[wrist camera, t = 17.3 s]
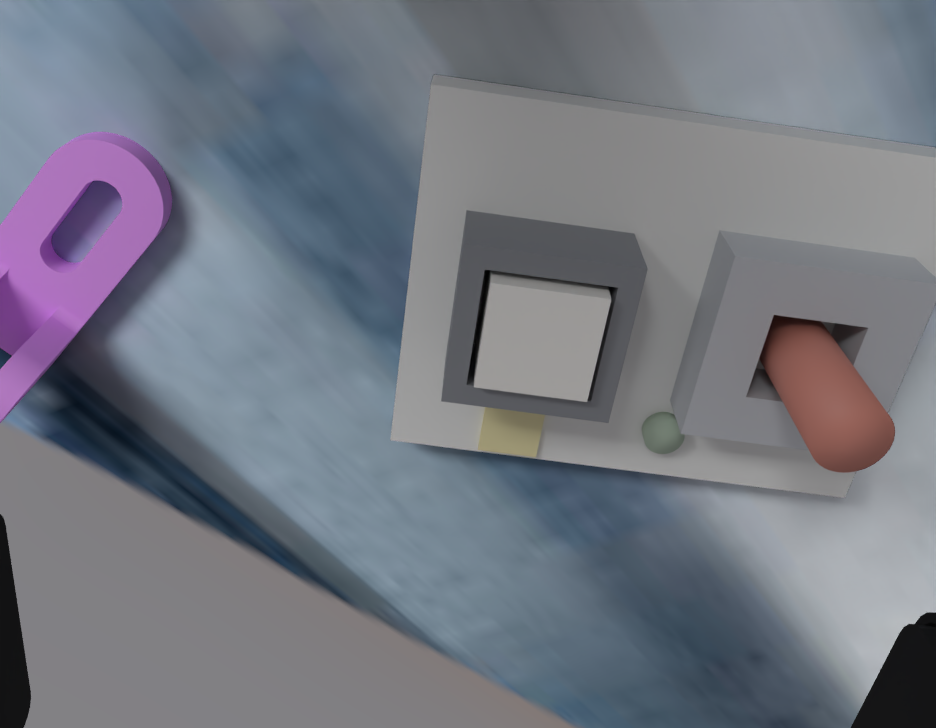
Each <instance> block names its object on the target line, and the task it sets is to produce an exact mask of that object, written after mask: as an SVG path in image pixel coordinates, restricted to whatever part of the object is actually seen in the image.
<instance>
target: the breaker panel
mask: <svg viewBox="0 0 936 728" xmlns="http://www.w3.org/2000/svg"><path fill="white" fill-rule="evenodd" d="M487 270H492V271H500V272H507V273H514V274H522V275H529V276H536V277H544V278H551V279H558V280H566V281H573V282H580V283H588V284H595V285H602V286H608V288H609V292H610V296H611V303H610V308H609V312H608V316H607V320H606V325H605V329H604V333H603V337H602V341H601V346H600V350H599V354H598V358H597V362H596V367H595V371H594V375H593V379H592V383H591V388H590V392H589V396H588V400H587V402H582V401H575V400H567V399H559V398H552V397H544V396H536V395H529V394H521V393H513V392H506V391H498V390H490V389H483V388H475V387H474V369H475V344H476V337H477V331H478V325H479V319H480V312H481V306H482V300H483V294H484V287H485V281H486V275H487ZM935 304H936V148H935V147H928V146H921V145H914V144H908V143H901V142H894V141H887V140H880V139H873V138H866V137H860V136H853V135H846V134H839V133H832V132H825V131H818V130H812V129H805V128H798V127H791V126H784V125H777V124H771V123H764V122H757V121H750V120H743V119H736V118H729V117H723V116H716V115H709V114H702V113H695V112H688V111H682V110H675V109H668V108H661V107H654V106H647V105H640V104H634V103H627V102H620V101H613V100H606V99H599V98H593V97H586V96H579V95H572V94H565V93H558V92H551V91H545V90H538V89H531V88H524V87H517V86H510V85H503V84H497V83H490V82H483V81H476V80H469V79H462V78H456V77H449V76H442V75H435V74H434V75H433V79H432V82H431V88H430V96H429V105H428V114H427V123H426V132H425V141H424V149H423V158H422V167H421V176H420V185H419V193H418V202H417V211H416V220H415V229H414V237H413V246H412V255H411V264H410V273H409V281H408V290H407V299H406V308H405V317H404V325H403V334H402V343H401V352H400V361H399V369H398V378H397V387H396V396H395V405H394V413H393V422H392V431H391V440H392V441H400V442H408V443H416V444H424V445H432V446H439V447H447V448H455V449H463V450H471V451H479V452H486V453H494V454H502V455H510V456H518V457H526V458H534V459H541V460H549V461H557V462H565V463H573V464H581V465H588V466H596V467H604V468H612V469H620V470H628V471H636V472H643V473H651V474H659V475H667V476H675V477H683V478H690V479H698V480H706V481H714V482H722V483H730V484H738V485H745V486H753V487H761V488H769V489H777V490H785V491H792V492H800V493H808V494H816V495H824V496H832V497H840V498H845V497H846V495H847V492H848V490H849V488H850V485H851V483H852V481H853V478H854V476H855V474H856V471H855V472H846V473H842V472H834V471H830V470H827V469H825V468H823V467H822V466H820V465H819V464H818V463H817V462H816V461H815V460H814V458H813V457H812V455H811V453H810V451H809V449H808V447H807V446H806V444H805V442H804V440H803V438H802V436H801V435H800V433H799V431H798V429H797V427H796V425H795V424H794V422H793V420H792V418H791V416H790V414H789V413H788V411H787V409H786V407H785V405H784V403H783V401H782V400H781V398H780V396H779V394H778V392H777V390H776V389H775V387H774V385H773V383H772V381H771V379H770V378H769V376H768V374H767V372H766V370H765V368H764V367H763V365H762V363H761V361H760V359H759V357H760V354H761V351H762V348H763V346H764V343H765V340H766V337H767V334H768V331H769V328H770V325H771V322H772V319H773V316H774V315H779V316H786V317H793V318H801V319H808V320H815V321H821V322H822V323H823V324H824V326H825V327H826V329H827V330H828V331H829V333H830V334H831V336H832V337H833V338H834V340H835V341H836V342H837V344H838V345H839V347H840V348H841V349H842V351H843V352H844V354H845V355H846V356H847V358H848V359H849V360H850V362H851V363H852V365H853V366H854V367H855V369H856V370H857V372H858V373H859V374H860V376H861V377H862V378H863V380H864V381H865V383H866V384H867V385H868V387H869V388H870V390H871V391H872V392H873V394H874V395H875V396H876V398H877V399H878V401H879V402H880V403H881V405H882V406H883V408H884V409H885V410H886V412H887V413H888V412H889V410H890V407H891V405H892V403H893V400H894V398H895V396H896V394H897V391H898V389H899V387H900V384H901V382H902V380H903V378H904V375H905V373H906V371H907V368H908V366H909V364H910V361H911V359H912V357H913V355H914V352H915V350H916V348H917V345H918V343H919V341H920V339H921V336H922V334H923V332H924V329H925V327H926V325H927V322H928V320H929V318H930V316H931V313H932V311H933V309H934V306H935Z"/></svg>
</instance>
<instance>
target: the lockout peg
mask: <svg viewBox="0 0 936 728" xmlns="http://www.w3.org/2000/svg"><path fill="white" fill-rule="evenodd" d="M759 359H760V361H761V363H762V365H763V367H764V368H765V370H766V372H767V374H768V376H769V378H770V379H771V381H772V383H773V385H774V387H775V389H776V390H777V392H778V394H779V396H780V398H781V400H782V401H783V403H784V405H785V407H786V409H787V411H788V413H789V414H790V416H791V418H792V420H793V422H794V424H795V425H796V427H797V429H798V431H799V433H800V435H801V436H802V438H803V440H804V442H805V444H806V446H807V447H808V449H809V451H810V453H811V455H812V457H813V458H814V460H815V461H816V462H817V463H818V464H819V465H820V466H822V467H823V468H825V469H827V470H830V471H834V472H842V473H846V472H855V471H859V470H862V469H865V468H867V467H869V466H871V465H873V464H875V463H876V462H877V461H879V460H880V459H881V458H882V457H883V456H884V455H885V454H886V453H887V452H888V450H889V449H890V447H891V445H892V443H893V440H894V436H895V427H894V423H893V421H892V419H891V417H890V416H889V414H888V413H887V412H886V410H885V409H884V408H883V406H882V405H881V403H880V402H879V401H878V399H877V398H876V396H875V395H874V394H873V392H872V391H871V390H870V388H869V387H868V385H867V384H866V383H865V381H864V380H863V378H862V377H861V376H860V374H859V373H858V372H857V370H856V369H855V367H854V366H853V365H852V363H851V362H850V360H849V359H848V358H847V356H846V355H845V354H844V352H843V351H842V349H841V348H840V347H839V345H838V344H837V342H836V341H835V340H834V338H833V337H832V336H831V334H830V333H829V331H828V330H827V329H826V327H825V326H824V324H823V323H822V322H821V321H815V320H808V319H801V318H793V317H786V316H779V315H774V316H773V319H772V322H771V325H770V328H769V331H768V334H767V337H766V340H765V343H764V346H763V348H762V351H761V354H760V357H759Z"/></svg>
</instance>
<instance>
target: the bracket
mask: <svg viewBox="0 0 936 728" xmlns="http://www.w3.org/2000/svg"><path fill="white" fill-rule="evenodd" d="M96 180H99V181H104V182H107V183H109V184H111V185H112V186H113V187H115V188H116V189H117V191H118V192H119V194H120V196H121V198H122V210H121V212H120V213H119V215H118V216H117V217H116V218H115V220H114V221H113V222H112V224H111V225H110V226H109V227H108V229H107V230H106V231H105V233H104V234H103V235H102V236H101V238H100V239H99V240H98V241H97V243H96V244H95V245H94V247H93V248H92V249H91V250H90V252H89V253H88V254H87V255H86V257H85V258H84V259H83V261H82V262H79V263H72V262H68V261H65V260H63V259H62V258H60V257H59V256H58V255H57V254H56V252H55V251H54V249H53V247H52V243H51V239H52V235H53V233H54V232H55V231H56V229H57V228H58V227H59V225H60V224H61V223H62V221H63V220H64V219H65V217H66V216H67V215H68V213H69V212H70V211H71V209H72V208H73V207H74V205H75V204H76V203H77V201H78V200H79V199H80V197H81V196H82V195H83V193H84V192H85V191H86V190H87V188H88V187H89V186H90V184H91V183H92V182H93V181H96ZM171 208H172V194H171V189H170V185H169V182H168V179H167V177H166V174H165V172H164V171H163V169H162V167H161V166H160V164H159V163H158V162H157V160H156V159H155V158H154V157H153V156H152V155H151V154H150V153H149V152H148V151H147V150H146V149H144V148H143V147H142V146H140V145H139V144H137V143H136V142H134V141H132V140H130V139H128V138H126V137H124V136H121V135H117V134H113V133H107V132H93V133H87V134H83V135H81V136H78V137H76V138H74V139H72V140H71V141H69V142H68V143H66V144H65V145H63V146H62V147H60V148H59V149H57V150H56V151H55V152H54V153H53V154H52V155H51V156H50V157H49V158H48V160H47V161H46V163H45V164H44V165H43V167H42V168H41V170H40V171H39V172H38V174H37V175H36V177H35V178H34V179H33V181H32V182H31V184H30V185H29V186H28V188H27V189H26V190H25V192H24V193H23V195H22V196H21V197H20V199H19V200H18V202H17V203H16V204H15V206H14V207H13V209H12V210H11V211H10V213H9V214H8V216H7V217H6V218H5V220H4V221H3V222H2V224H1V225H0V348H1V349H3V350H4V351H6V352H7V353H9V354H10V355H11V356H12V357H11V358H10V359H9V360H8V361H7V362H6V364H5V365H4V366H3V367H2V368H1V369H0V423H1V422H2V421H3V420H4V418H5V417H6V416H7V415H8V414H9V413H10V412H11V410H12V409H13V408H14V407H15V406H16V405H17V404H18V403H19V401H20V400H21V399H22V398H23V397H24V396H25V395H26V393H27V392H28V391H29V390H30V389H31V388H32V387H33V386H34V384H35V383H36V382H37V381H38V380H39V379H40V378H41V377H42V375H43V374H44V373H45V372H46V371H47V370H48V369H49V367H50V366H51V365H52V364H53V363H54V362H55V360H56V359H57V358H58V357H59V355H60V354H61V353H62V352H63V351H64V349H65V348H66V347H67V346H68V345H69V343H70V342H71V341H72V340H73V338H74V337H75V336H76V335H77V334H78V332H79V331H80V330H81V329H82V327H83V326H84V325H85V324H86V323H87V321H88V320H89V319H90V318H91V316H92V315H93V314H94V313H95V312H96V310H97V309H98V308H99V307H100V305H101V304H102V303H103V302H104V301H105V299H106V298H107V297H108V296H109V294H110V293H111V292H112V291H113V290H114V288H115V287H116V286H117V285H118V283H119V282H120V281H121V280H122V279H123V277H124V276H125V275H126V274H127V272H128V271H129V270H130V269H131V268H132V266H133V265H134V264H135V263H136V261H137V260H138V259H139V258H140V257H141V255H142V254H143V253H144V252H145V250H146V249H147V248H148V247H149V246H150V244H151V243H152V242H153V241H154V240H155V238H156V237H157V236H158V235H159V233H160V232H161V231H162V230H163V228H164V227H165V225H166V223H167V222H168V219H169V217H170V213H171Z"/></svg>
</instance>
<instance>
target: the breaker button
mask: <svg viewBox="0 0 936 728" xmlns="http://www.w3.org/2000/svg"><path fill="white" fill-rule="evenodd" d="M610 303H611V296H610V292H609V288H608V286H602V285H595V284H588V283H580V282H573V281H566V280H558V279H551V278H544V277H536V276H529V275H522V274H514V273H507V272H500V271H492V270H487V275H486V281H485V287H484V294H483V300H482V306H481V312H480V319H479V325H478V331H477V337H476V344H475V369H474V387H475V388H483V389H490V390H498V391H506V392H513V393H521V394H529V395H536V396H544V397H552V398H559V399H567V400H575V401H582V402H587V400H588V396H589V392H590V388H591V383H592V379H593V375H594V371H595V367H596V362H597V358H598V354H599V350H600V346H601V341H602V337H603V333H604V329H605V325H606V320H607V316H608V312H609V308H610Z"/></svg>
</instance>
